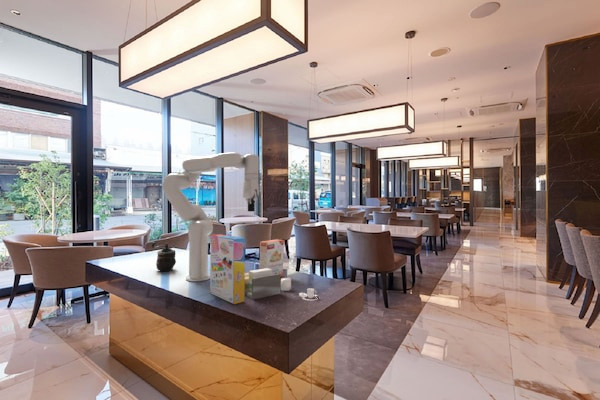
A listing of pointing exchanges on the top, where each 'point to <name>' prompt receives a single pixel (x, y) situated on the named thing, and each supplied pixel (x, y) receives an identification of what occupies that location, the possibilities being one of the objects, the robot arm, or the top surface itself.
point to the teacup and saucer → (308, 294)
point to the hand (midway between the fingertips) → (251, 211)
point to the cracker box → (272, 256)
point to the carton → (258, 275)
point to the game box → (227, 267)
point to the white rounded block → (285, 284)
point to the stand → (262, 286)
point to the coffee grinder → (165, 258)
